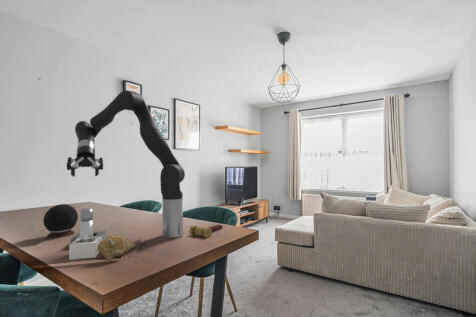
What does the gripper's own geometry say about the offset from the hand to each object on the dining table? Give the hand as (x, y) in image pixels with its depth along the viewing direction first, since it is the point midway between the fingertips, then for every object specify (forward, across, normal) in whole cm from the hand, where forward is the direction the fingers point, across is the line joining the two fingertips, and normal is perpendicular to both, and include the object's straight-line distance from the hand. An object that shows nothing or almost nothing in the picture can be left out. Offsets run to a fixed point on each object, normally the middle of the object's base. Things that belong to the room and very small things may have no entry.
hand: (85, 175), depth 112 cm
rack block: (+38, +1, +3) cm, 38 cm away
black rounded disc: (+12, -10, +29) cm, 33 cm away
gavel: (+32, +54, +10) cm, 63 cm away
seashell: (+41, +12, 0) cm, 43 cm away
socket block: (+28, +2, +13) cm, 31 cm away
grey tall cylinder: (+36, +1, +1) cm, 36 cm away
